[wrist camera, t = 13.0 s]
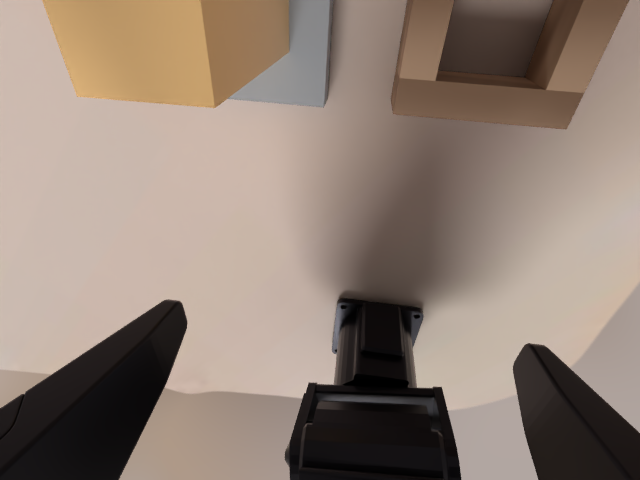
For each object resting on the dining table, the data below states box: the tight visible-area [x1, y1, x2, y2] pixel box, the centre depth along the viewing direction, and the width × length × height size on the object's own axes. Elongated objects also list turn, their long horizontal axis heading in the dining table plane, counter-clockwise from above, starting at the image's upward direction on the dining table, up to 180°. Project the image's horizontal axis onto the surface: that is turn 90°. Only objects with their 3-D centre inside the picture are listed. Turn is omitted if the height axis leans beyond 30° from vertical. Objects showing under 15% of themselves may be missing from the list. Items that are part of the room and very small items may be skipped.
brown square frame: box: [391, 0, 629, 129], centre depth 14 cm, size 8×8×2 cm
